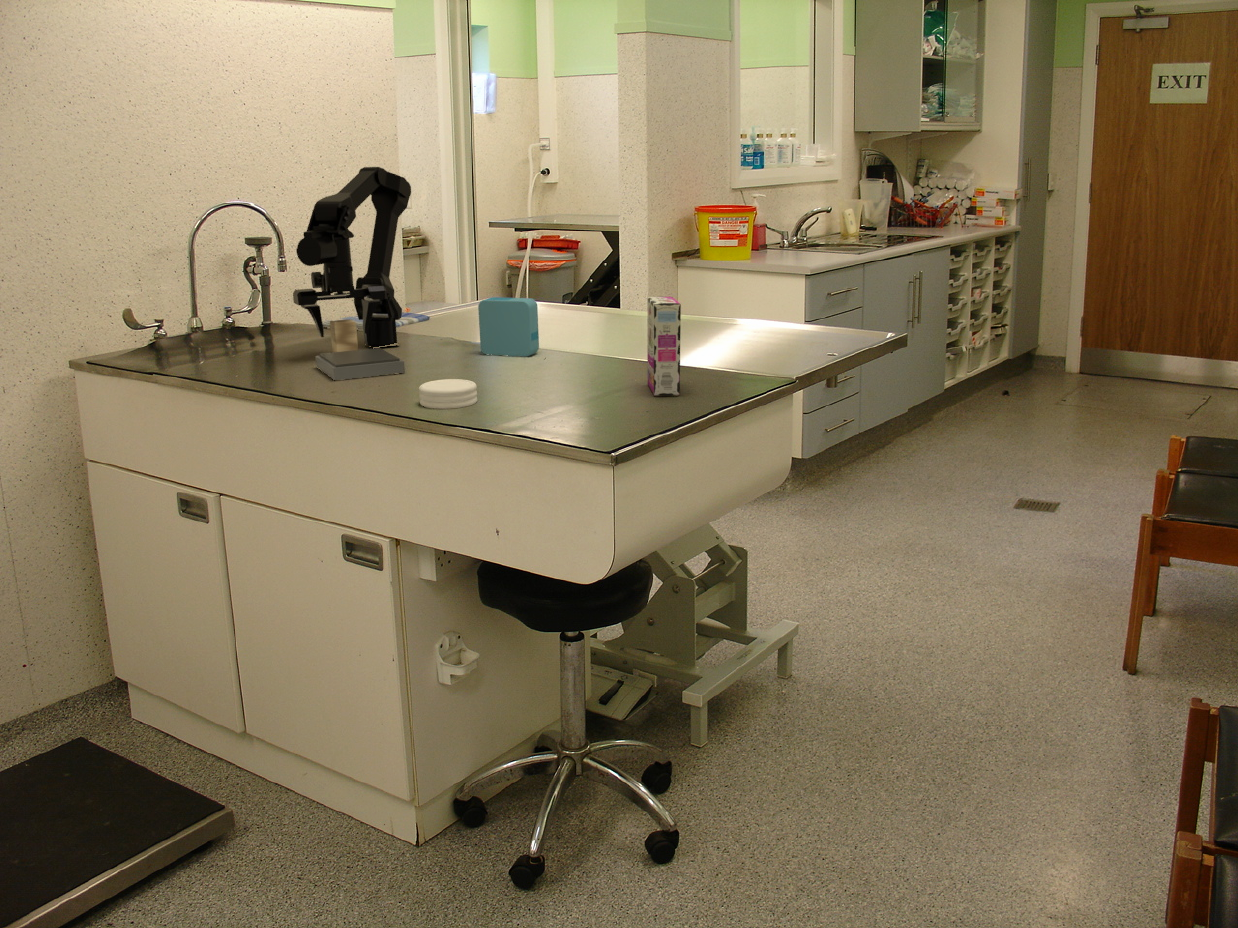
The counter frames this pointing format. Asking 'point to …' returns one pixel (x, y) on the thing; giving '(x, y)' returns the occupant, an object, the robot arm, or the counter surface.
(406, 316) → the dish towel
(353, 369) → the plate
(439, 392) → the coaster
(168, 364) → the counter surface
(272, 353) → the counter surface
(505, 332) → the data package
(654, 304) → the candy bar box
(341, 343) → the oak block
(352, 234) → the robot arm
